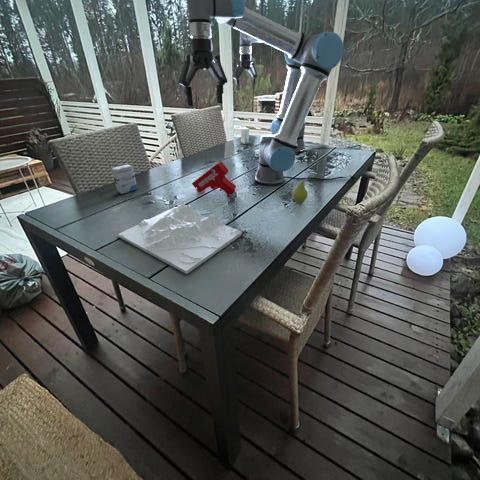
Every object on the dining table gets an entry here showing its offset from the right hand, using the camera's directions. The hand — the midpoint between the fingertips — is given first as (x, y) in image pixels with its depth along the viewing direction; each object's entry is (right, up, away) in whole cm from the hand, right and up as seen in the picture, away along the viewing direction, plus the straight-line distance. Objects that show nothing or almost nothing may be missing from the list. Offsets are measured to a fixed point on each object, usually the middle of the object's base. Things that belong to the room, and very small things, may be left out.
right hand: (245, 89), depth 195 cm
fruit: (+23, -91, -73) cm, 119 cm away
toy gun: (-16, -86, -64) cm, 108 cm away
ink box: (-60, -84, -61) cm, 120 cm away
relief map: (-26, -107, -97) cm, 147 cm away
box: (0, -31, +20) cm, 37 cm away
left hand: (-18, -54, -86) cm, 103 cm away
